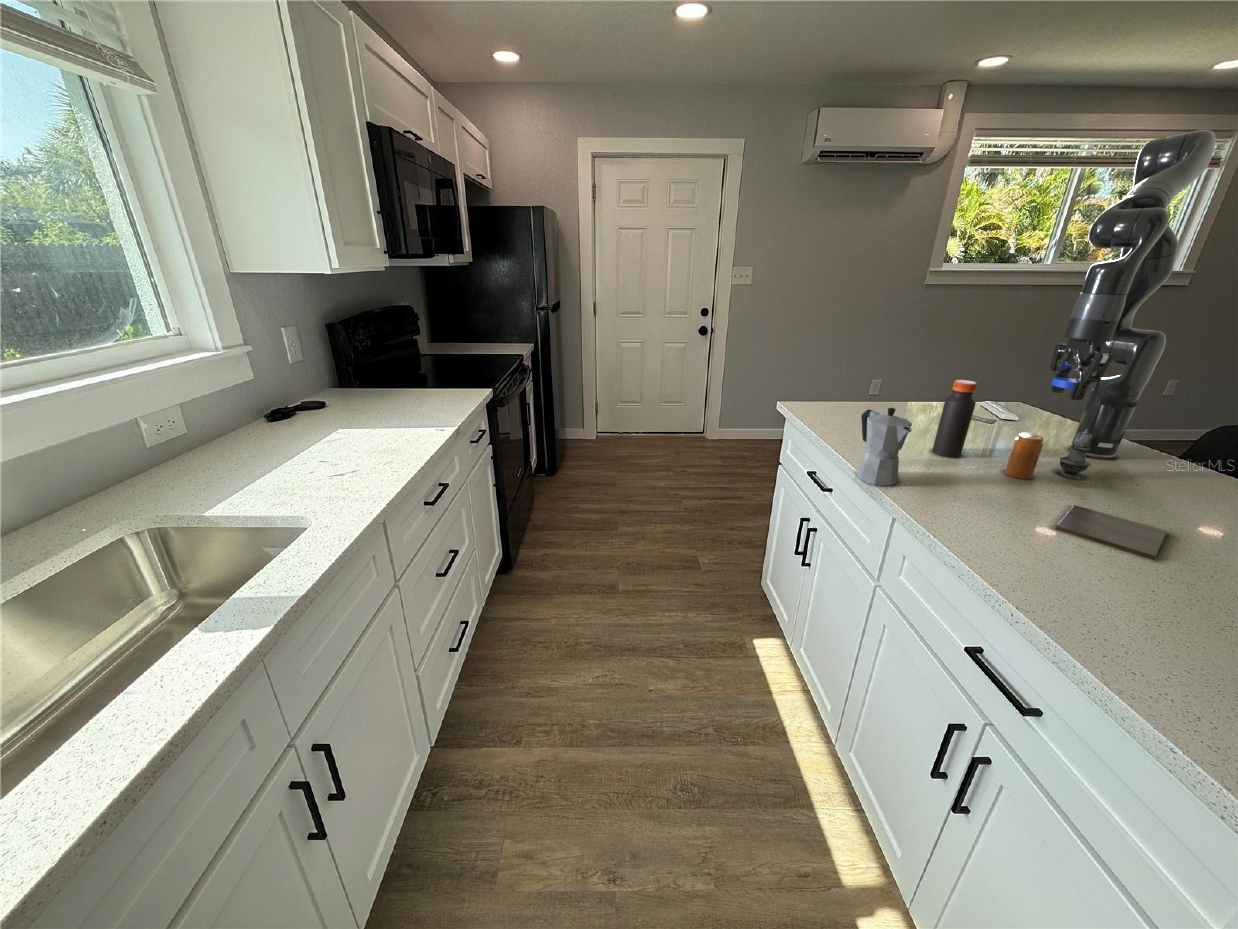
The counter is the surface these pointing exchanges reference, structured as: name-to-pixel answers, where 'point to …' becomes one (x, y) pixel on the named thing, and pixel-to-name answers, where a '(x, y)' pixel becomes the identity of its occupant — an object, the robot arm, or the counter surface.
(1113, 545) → the board
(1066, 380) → the lid
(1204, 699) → the counter surface
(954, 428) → the bottle
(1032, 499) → the counter surface
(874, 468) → the coffeepot
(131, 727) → the counter surface
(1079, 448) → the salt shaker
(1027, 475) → the jar
